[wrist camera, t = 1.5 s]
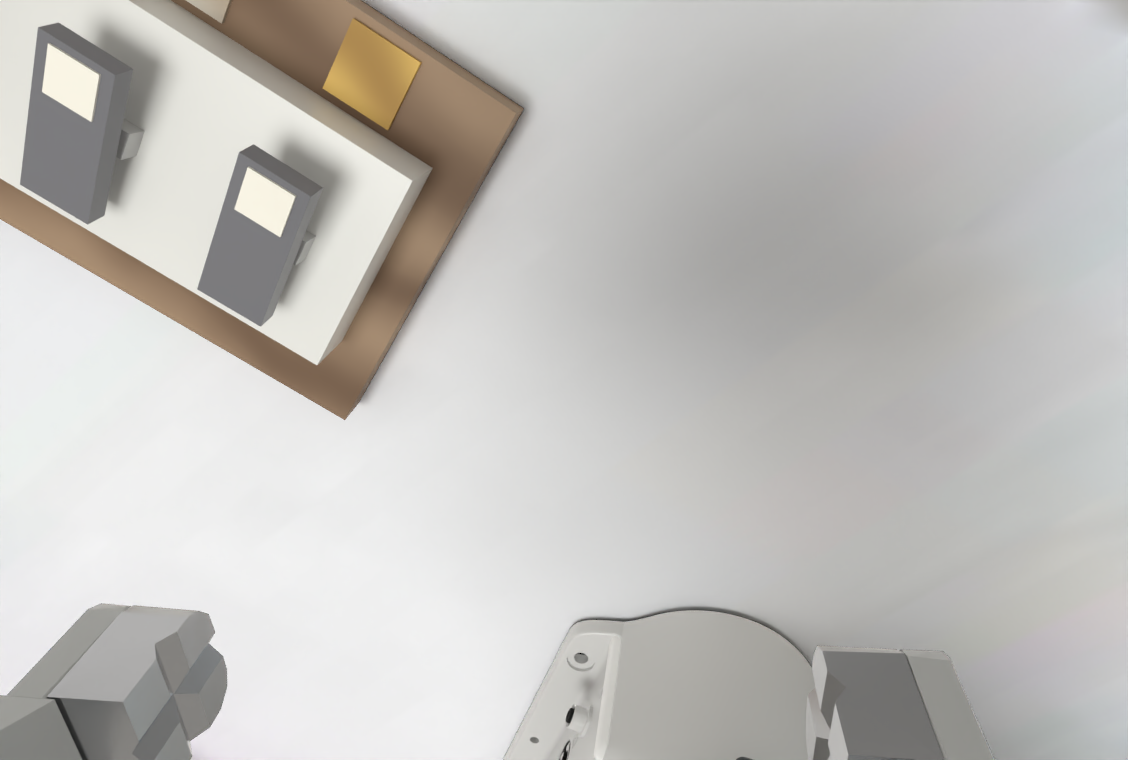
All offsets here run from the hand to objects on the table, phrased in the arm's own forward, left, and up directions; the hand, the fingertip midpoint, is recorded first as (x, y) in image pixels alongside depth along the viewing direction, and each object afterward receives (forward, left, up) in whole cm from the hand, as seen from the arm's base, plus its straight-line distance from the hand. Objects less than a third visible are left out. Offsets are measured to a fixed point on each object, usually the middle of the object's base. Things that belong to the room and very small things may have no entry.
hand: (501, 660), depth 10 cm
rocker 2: (-8, +12, -21) cm, 26 cm away
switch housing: (-8, +20, -26) cm, 34 cm away
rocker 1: (-8, +20, -21) cm, 30 cm away
